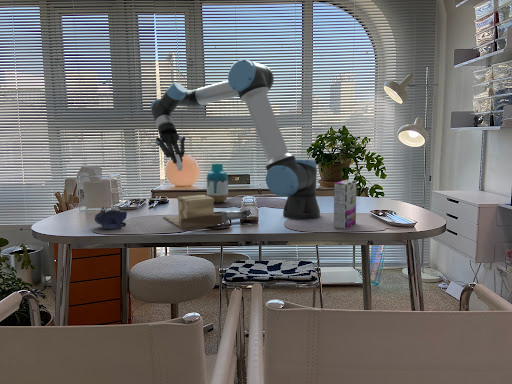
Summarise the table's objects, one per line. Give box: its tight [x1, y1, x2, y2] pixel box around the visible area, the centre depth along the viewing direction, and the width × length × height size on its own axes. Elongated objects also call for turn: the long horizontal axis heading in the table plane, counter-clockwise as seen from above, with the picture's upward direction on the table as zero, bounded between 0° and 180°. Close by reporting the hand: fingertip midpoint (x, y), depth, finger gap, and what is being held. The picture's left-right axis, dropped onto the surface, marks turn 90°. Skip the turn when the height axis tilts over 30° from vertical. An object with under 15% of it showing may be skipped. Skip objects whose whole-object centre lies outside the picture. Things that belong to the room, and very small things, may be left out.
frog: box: [93, 206, 128, 230], centre depth 147 cm, size 10×12×8 cm
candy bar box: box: [333, 179, 357, 230], centre depth 146 cm, size 11×5×16 cm, turn 148°
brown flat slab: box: [163, 213, 223, 231], centre depth 153 cm, size 23×15×4 cm, turn 29°
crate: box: [177, 194, 215, 224], centre depth 148 cm, size 10×10×10 cm
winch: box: [219, 208, 252, 224], centre depth 153 cm, size 15×6×5 cm, turn 119°
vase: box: [206, 163, 229, 204], centre depth 197 cm, size 11×11×19 cm
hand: (180, 168), depth 162 cm, fingers closed
